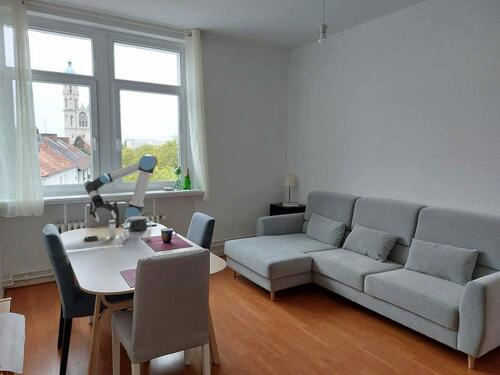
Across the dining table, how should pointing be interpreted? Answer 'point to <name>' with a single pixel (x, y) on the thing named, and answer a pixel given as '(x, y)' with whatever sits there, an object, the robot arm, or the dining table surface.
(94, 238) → the cable board
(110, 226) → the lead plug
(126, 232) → the headset
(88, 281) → the dining table surface
